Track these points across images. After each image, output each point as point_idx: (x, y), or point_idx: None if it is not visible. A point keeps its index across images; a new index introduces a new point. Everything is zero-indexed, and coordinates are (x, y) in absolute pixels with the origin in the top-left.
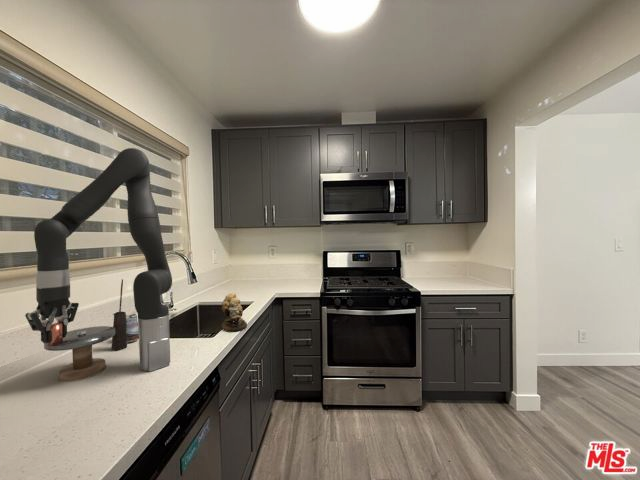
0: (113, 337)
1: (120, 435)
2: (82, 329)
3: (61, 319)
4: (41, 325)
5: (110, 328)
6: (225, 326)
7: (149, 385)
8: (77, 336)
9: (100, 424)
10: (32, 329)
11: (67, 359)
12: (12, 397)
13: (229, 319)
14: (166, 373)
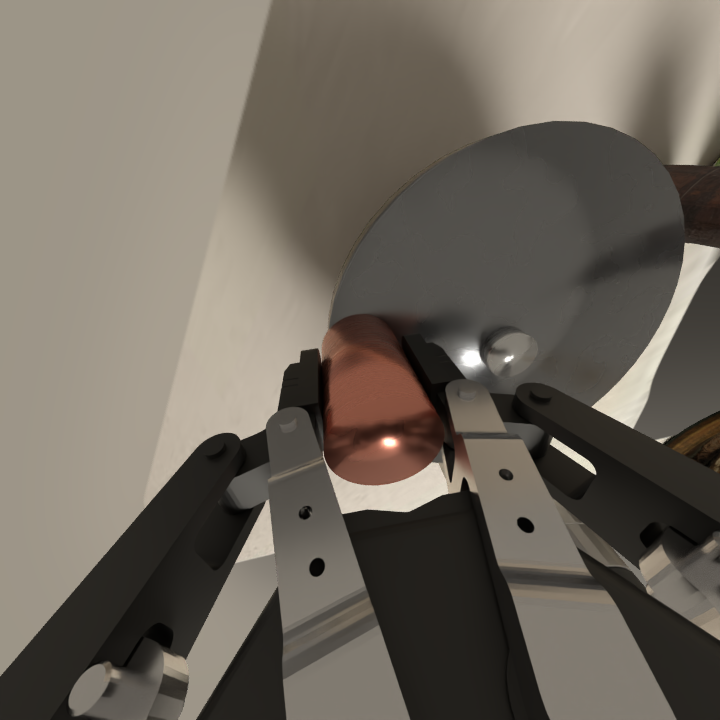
0: (686, 203)
1: (260, 541)
2: (639, 218)
3: (450, 483)
4: (238, 536)
5: (596, 387)
6: (695, 441)
7: (380, 485)
8: (479, 347)
9: (264, 510)
10: (195, 454)
11: (557, 14)
12: (233, 228)
13: (718, 466)
14: (428, 477)
